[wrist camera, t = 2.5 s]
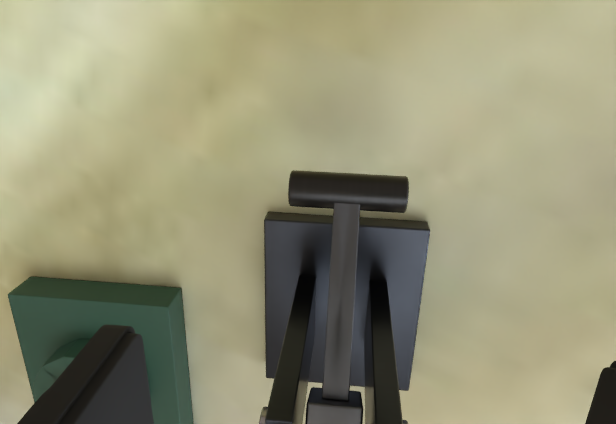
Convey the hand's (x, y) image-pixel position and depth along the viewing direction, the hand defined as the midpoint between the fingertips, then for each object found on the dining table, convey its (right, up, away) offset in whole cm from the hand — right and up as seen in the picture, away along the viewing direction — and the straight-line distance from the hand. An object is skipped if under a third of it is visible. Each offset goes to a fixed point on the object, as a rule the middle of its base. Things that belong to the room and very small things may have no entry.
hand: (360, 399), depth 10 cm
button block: (-14, -6, +22) cm, 27 cm away
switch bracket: (+1, -1, +19) cm, 19 cm away
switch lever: (0, -1, +11) cm, 11 cm away
